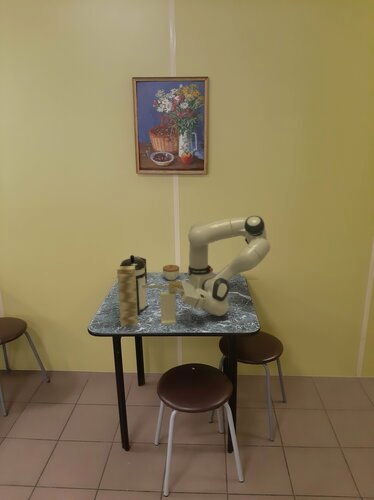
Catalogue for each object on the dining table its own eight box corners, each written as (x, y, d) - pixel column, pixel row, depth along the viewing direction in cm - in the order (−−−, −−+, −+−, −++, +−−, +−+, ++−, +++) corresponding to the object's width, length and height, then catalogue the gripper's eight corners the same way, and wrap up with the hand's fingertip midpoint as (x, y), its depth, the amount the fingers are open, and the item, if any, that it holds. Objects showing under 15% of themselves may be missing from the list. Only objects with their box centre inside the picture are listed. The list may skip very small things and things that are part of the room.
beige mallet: (179, 288, 174) (179, 281, 173) (180, 292, 170) (180, 284, 169) (142, 289, 171) (142, 281, 170) (142, 292, 168) (142, 284, 166)
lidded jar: (182, 277, 232) (182, 264, 229) (173, 283, 223) (172, 268, 221) (169, 274, 238) (169, 261, 235) (159, 279, 229) (159, 265, 227)
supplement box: (133, 281, 227) (131, 257, 222) (139, 279, 230) (138, 255, 226) (141, 284, 221) (140, 260, 216) (147, 282, 224) (146, 258, 220)
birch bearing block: (137, 319, 177) (134, 265, 169) (137, 325, 171) (134, 269, 163) (121, 320, 176) (117, 266, 168) (120, 326, 170) (117, 270, 162)
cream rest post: (174, 316, 180) (174, 289, 176) (176, 324, 172) (175, 295, 168) (160, 317, 179) (160, 290, 175) (161, 324, 171) (160, 296, 167)
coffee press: (116, 306, 192) (112, 253, 183) (145, 301, 197) (142, 249, 189) (122, 320, 176) (118, 263, 168) (153, 315, 181) (151, 259, 173)
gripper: (197, 284, 183) (174, 272, 180) (204, 300, 164) (178, 288, 161) (191, 294, 185) (168, 283, 181) (197, 311, 165) (171, 299, 162)
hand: (173, 285), depth 171 cm, fingers closed on beige mallet, 4 cm apart
